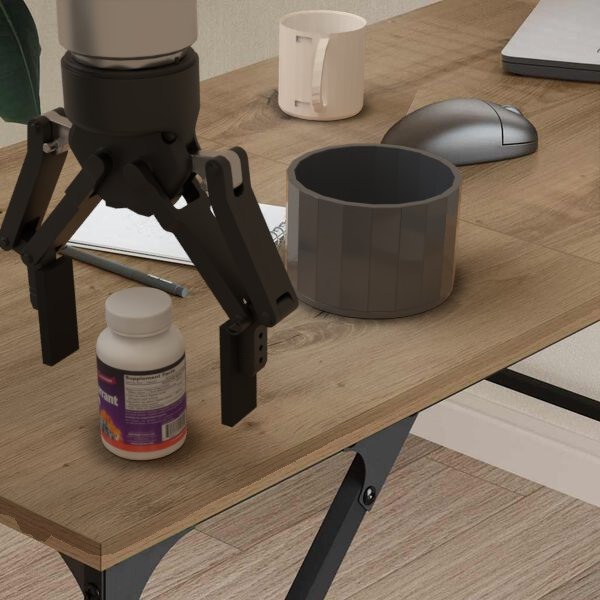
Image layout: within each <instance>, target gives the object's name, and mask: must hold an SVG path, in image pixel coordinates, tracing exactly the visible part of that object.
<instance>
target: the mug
mask: <svg viewBox="0 0 600 600" xmlns="http://www.w3.org/2000/svg"><path fill="white" fill-rule="evenodd" d="M367 23H368V22H367V20H366V19H365V18H364V17H362V16H361V15H357V14H354V13H351V12H345V11H339V10H331V9H330V10H328V9H309V10H298V11H294V12H290V13H287V14H284V15H282V16H281V17H280V18H279V28H278V29H279V30H278V31H279V32H278V33H279V34H278V35H279V36H278V37H279V38H278V95H277V96H278V98H277V99H278V100H277V102H278V106H279V108H280V109H281V111H282V112H283V113H284V114H286V115H288V116H291V117H294V118H297V119H302V120H306V121H307V120H309V121H322V122H323V121H324V122H327V121H339V120H344V119H349V118H352V117H354V116H356V115H358V114H359V113H360V112H361V110H362V109H363V106H364V93H365V92H364V91H365V72H366V48H367V47H366V45H367Z"/></svg>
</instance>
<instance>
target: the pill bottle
mask: <svg viewBox="0 0 600 600" xmlns="http://www.w3.org/2000/svg"><path fill="white" fill-rule="evenodd" d="M104 306H105V310H104V311H105V323H106V327H105V328H104V329H103V330H101V332H100V334H99V335H98V337H97V339H96V344H95V361H96V373H97V375H96V376H97V377H96V378H97V389H98V391H97V392H98V410H99V425H100V428H99V429H100V438H101V442H102V443H103V445H104V447H105V448H106V449H107V450H108V451H109V452H111V453H112V454H113V455H116V457H117V456H118V457H120V458H123V459H125V460H126V459H127V460H132V461H149V460H156V459H159V458H163V457H166V456H168V455H171V454H172V453H174V452H176V451H177V450H179V449H180V448H181V447H182V446H183V444H184V443H185V441H186V438H187V434H188V433H187V432H188V415H187V414H188V413H187V410H188V409H187V368H186V367H187V362H186V341H185V337H184V335H183V333H182V331H181V330H180V329H179V328H178V326H176V325H175V324H173V323H174V322H173V321H174V310H173V309H174V308H173V299H172V297H171V296H170V295H169V294H168V293H167V292H166V291H163V290H161V289H159V288H155V287H148V286H135V287H133V286H132V287H127V288H123V289H120V290H117V291H115V292H113V293H111V294H110V295H109V296H108V297H107V299H106V300H105V303H104Z"/></svg>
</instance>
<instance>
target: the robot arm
mask: <svg viewBox="0 0 600 600" xmlns="http://www.w3.org/2000/svg"><path fill="white" fill-rule="evenodd" d="M55 7H56V9H55V11H56V25H57V27H56V28H57V41H58V43H59V45H60V46H61V47H62V48H64V49H65V50H66V51H65V53H64V54H63V56H62V57H61V59H60V71H61V73H60V74H61V86H62V97H63V99H62V100H63V107H62V106H59V107H56V108H53V109H51V110H48V111H46V112H44V113H41V114H39V115H37V116H35V117H32V118H29V120H28V121H27V123H26V124H27V125H26V129H27V130H26V154H25V157H24V160H23V162H22V166H21V169H20V171H19V174H18V176H17V180H16V182H15V186H14V189H13V191H12V194H11V196H10V200H9V203H8V206H7V209H6V211H5V214H4V217H3V219H2V223H1V226H0V249H1V250H3V251H4V252H10V251H13V252H15V253H16V254H17V255H19V256H20V260H21V262H22V263H23V264H24V266H26V270H27V280H28V291H29V301H30V305H31V307H32V309H33V310H36V311H37V315H38V317H37V318H38V326H39V339H40V348H41V349H40V350H41V360H42V364H43V365H46V366H48V367H51V368H53V367H54V366H55V365H57V364H59V363H60V362H62V361H64V360H65V359H66V358H68V357H69V356H71V355H72V354H74V353H76V352H77V351H78V350H79V351H80V339H79V338H80V337H79V326H78V315H77V314H78V313H77V301H76V287H75V273H74V261H73V257H71V256H67V255H64V254H63V255H61V256H59V257H57V254H59V253H61V252H62V251H64V250H66V249H67V248H68V246H66V245H67V244H68V242H69V241H70V240H71V239H72V237H73V236H74V235H75V234H76V233H77V231H78V230H79V229H80V227H81V226H82V225H83V224H84V223H85V221H86V220H87V219H88V218H89V217H90V215H92V213H93V212H94V210H95V209H96V208H97V207H98V206H99V204H100V203H101V202H102V201H104V202H105V207H109V208H112V209H114V210H117V209H118V210H119V209H128V210H129V211H131V212H133V213H134V214H136V215H139V216H142V217H147V218H150V217H154V219H155V220H156V221H157V223H158V224H159V226H160V227H161V229H162V230H163V231H165V232H167V233H171V234H172V235H173V236H174V237H175V239H176V240H177V242H178V244H179V245H180V246H181V248H182V249H183V251H184V252H185V254H186V256H187V257H188V258H189V260H190V262H191V263H192V265H193V266H194V268H195V269H196V270H197V272H198V274H199V275H200V277H201V278H202V280H203V281H204V283H205V284H206V286H207V287H208V289H209V290H210V292H211V293H212V295H213V296H214V298H215V299H216V301H217V302H218V304H219V305H220V307H221V308H222V310H223V312H224V313H225V314H226V316H227V318H228V319H227V320H226V321H225V322H223V323H221V324H220V325H219V326H218V332H219V333H218V334H219V335H218V336H219V337H218V338H219V341H218V342H219V379H220V381H219V382H220V383H219V384H220V385H219V386H220V416H221V417H220V421H221V422H220V423H221V425H223V426H225V427H229V428H234V427H235V426H237V424H239V423H240V422H241V421H242V420H244V419H245V418H246V417H247V416H248V415H250V414H251V413H252V412H253V411H254V410H255V409H257V408H258V381H257V380H258V376H257V375H258V373H259V372H261V370H263V369H264V368H266V364H267V363H268V329H269V328H271V329H272V328H274V327H275V326H276V325H278V324H280V323H281V321H283V320H284V319H286V318H287V317H288V316H290V315H291V314H292V313H294V312H295V311H296V310H297V309H298V308H299V307H300V306H299V305H300V302H299V299H298V298H297V295H296V293H295V291H294V288H293V286H292V283H291V281H290V279H289V276H288V274H287V271H286V269H285V263H284V262H283V259H282V257H281V255H280V252H279V250H278V247H277V245H276V243H275V241H274V238H273V236H272V233H271V231H270V228H269V226H268V224H267V223H268V222H267V221H266V218H265V216H264V214H263V211H262V209H261V206H260V204H259V201H258V199H257V197H256V195H255V192H254V190H253V187H252V181H251V172H250V171H251V170H250V164H249V163H250V162H249V156H248V153H247V151H246V150H245V149H244V148H243V147H241V146H239V145H236V146H233V147H231V148H229V149H226V151H216V150H215V151H214V150H206V149H202V147H201V145H200V143H199V140H198V137H197V133H196V128H197V122H198V118H199V114H200V111H201V83H200V82H201V81H200V80H201V79H200V78H201V77H200V56H199V54H198V52H196V51H195V49H194V47H192V46H193V45H194V44H195V42H197V40H198V38H199V28H198V27H199V26H198V25H199V24H198V0H55ZM69 150H71V152H72V155H74V157H75V159H76V161H77V162H78V164H79V166H80V167H81V169H80V170H79V172H78V173H77V174H76V175H75V177H74V178H73V180H72V181H71V182H70V183H69V185H67V187H66V189H65V190H64V193H65V194H64V196H63V197H62V198H61V200H60V201H59V202H58V203H57V205H55V207H54V208H53V210H52V211H51V212H50V213H49V214H48V216H47V218H46V219H45V216H46V213H47V211H48V207H49V205H50V202H51V201H52V197H53V195H54V192H55V190H56V187H57V184H58V181H59V179H60V177H61V173H62V170H63V168H64V166H65V163H66V160H67V157H68V153H69ZM197 175H198V176H199V177H200V178H201V180H202V181H201V182H200V181H199V179H198V178H197ZM182 197H183V199H184V201H185V202H186V205H184V206H182V207H181V208H177V207H176V206H175V205H176V204H177V203H178V202H179V200H180V199H181V198H182ZM44 219H45V220H44ZM43 221H44V222H43Z"/></svg>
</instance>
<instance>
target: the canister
mask: <svg viewBox="0 0 600 600" xmlns="http://www.w3.org/2000/svg"><path fill="white" fill-rule="evenodd" d="M463 180H464V178H463V175H462V174H461V171H460V170H459V168H458V167H457V166H456V165H455V164H453V163H452V162H450V161H449V160H447V159H446V158H445V157H442V156H440V155H438V154H437V155H436V154H435V153H432V152H429V151H426V150H423V149H418V148H413V147H408V146H404V145H396V144H386V143H379V142H378V143H376V142H371V143H370V142H367V143H364V142H363V143H361V142H360V143H358V142H357V143H354V142H353V143H344V144H337V145H330V146H323V147H320V148H316V149H314V150H313V149H312V150H310V151H307V152H305V153H303V154H301V155H300V156H297V157H295V158H294V159H293V160H292V161H291V162H290V164H289V165H288V167H287V168H286V177H285V230H284V267H285V269H286V271H287V274H288V276H289V279H290V281H291V283H292V286H293V288H294V291H295V293H296V295H297V298H298V300H300V301H301V302H303V303H305V304H307V305H308V306H309V307H312V308H315V309H317V310H320V311H324V312H326V313H330V314H334V315H338V316H342V317H343V316H344V317H348V318H349V317H350V318H357V319H370V320H371V319H378V320H379V319H380V320H381V319H395V318H396V319H397V318H405V317H409V316H414V315H418V314H421V313H425V312H427V311H429V310H432V309H435V308H436V307H438V306H440V305H441V304H443V303H444V302H445V301H446V300H447V299H448V298H449V297H450V295H451V294H452V292H453V290H454V281H455V278H456V266H457V255H458V254H457V253H458V241H459V231H460V218H461V204H462V193H463Z"/></svg>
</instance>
